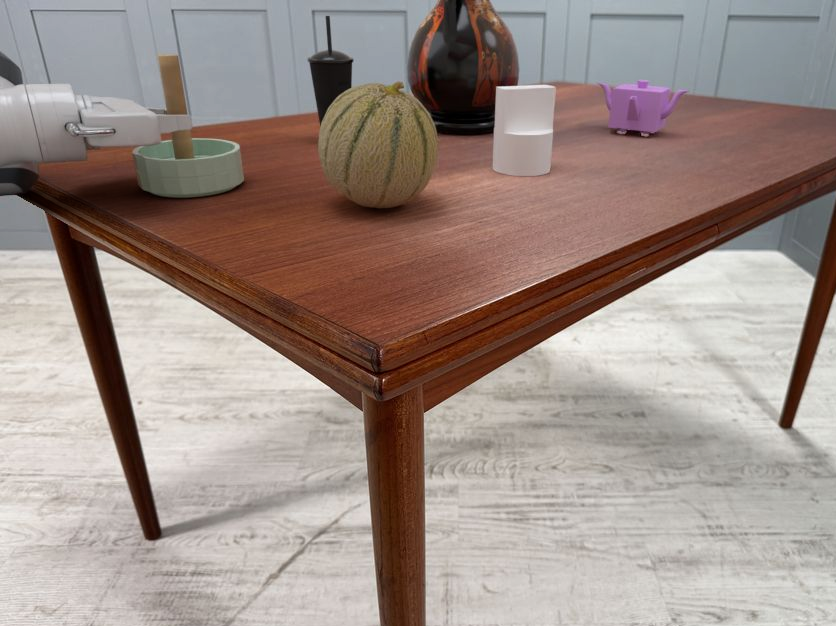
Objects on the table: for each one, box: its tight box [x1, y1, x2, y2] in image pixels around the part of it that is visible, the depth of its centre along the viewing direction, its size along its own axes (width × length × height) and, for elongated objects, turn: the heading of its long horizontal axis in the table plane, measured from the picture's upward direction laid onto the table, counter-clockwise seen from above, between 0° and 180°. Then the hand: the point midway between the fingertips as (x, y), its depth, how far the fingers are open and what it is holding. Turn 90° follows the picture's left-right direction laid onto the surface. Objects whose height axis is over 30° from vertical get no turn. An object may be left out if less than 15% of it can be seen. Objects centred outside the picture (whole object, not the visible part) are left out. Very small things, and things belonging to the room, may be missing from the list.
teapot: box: [596, 79, 690, 134], centre depth 129 cm, size 18×13×10 cm
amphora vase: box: [406, 0, 520, 135], centre depth 126 cm, size 22×22×28 cm
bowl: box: [131, 137, 245, 198], centre depth 90 cm, size 13×13×5 cm
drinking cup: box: [306, 15, 355, 127], centre depth 114 cm, size 8×8×20 cm
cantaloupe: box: [317, 80, 439, 209], centre depth 82 cm, size 15×15×15 cm
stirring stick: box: [156, 53, 195, 159], centre depth 86 cm, size 2×2×16 cm
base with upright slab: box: [492, 84, 557, 177], centre depth 101 cm, size 9×9×12 cm
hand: (185, 118), depth 86 cm, fingers open, 5 cm apart
